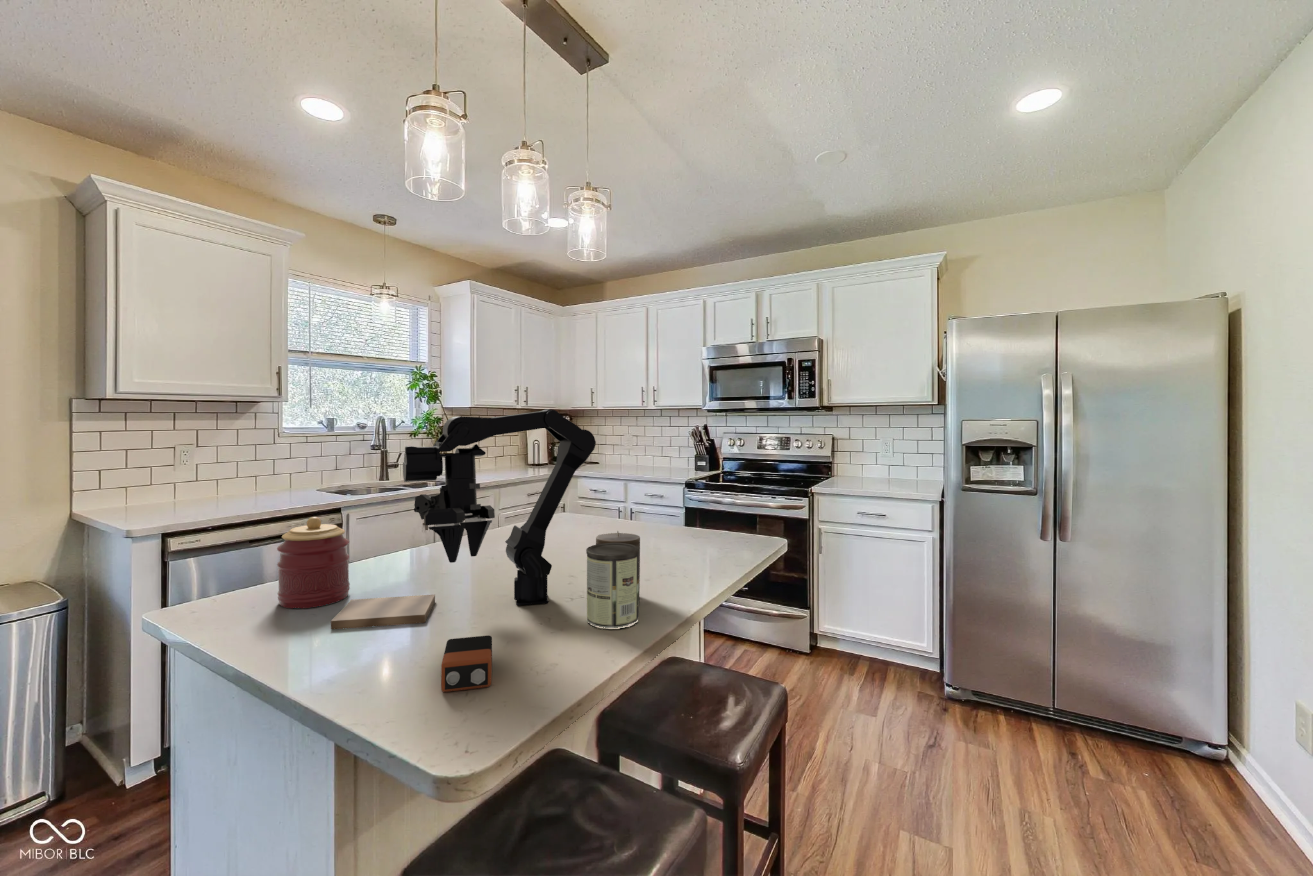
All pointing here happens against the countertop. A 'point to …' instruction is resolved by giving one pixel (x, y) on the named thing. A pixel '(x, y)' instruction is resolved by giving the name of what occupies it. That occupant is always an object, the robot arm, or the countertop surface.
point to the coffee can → (612, 584)
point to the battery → (467, 663)
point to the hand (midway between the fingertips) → (463, 559)
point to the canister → (313, 565)
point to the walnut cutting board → (384, 611)
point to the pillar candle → (620, 541)
